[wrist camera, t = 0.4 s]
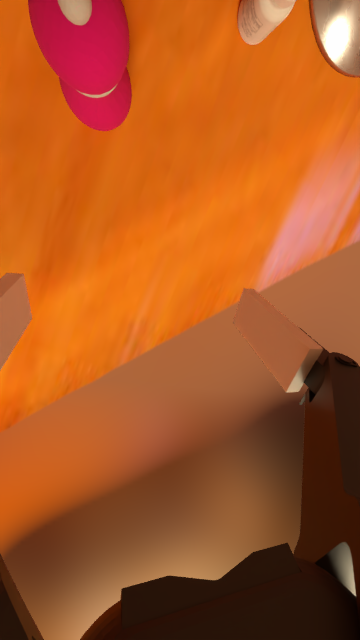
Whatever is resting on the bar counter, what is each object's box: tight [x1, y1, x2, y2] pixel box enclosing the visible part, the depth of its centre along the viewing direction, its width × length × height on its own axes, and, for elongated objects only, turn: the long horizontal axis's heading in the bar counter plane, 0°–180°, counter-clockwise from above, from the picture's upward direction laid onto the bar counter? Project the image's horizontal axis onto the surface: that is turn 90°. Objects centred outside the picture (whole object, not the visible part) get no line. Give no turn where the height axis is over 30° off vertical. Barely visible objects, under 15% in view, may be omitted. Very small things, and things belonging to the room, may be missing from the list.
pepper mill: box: [28, 0, 132, 131], centre depth 20 cm, size 7×7×20 cm
